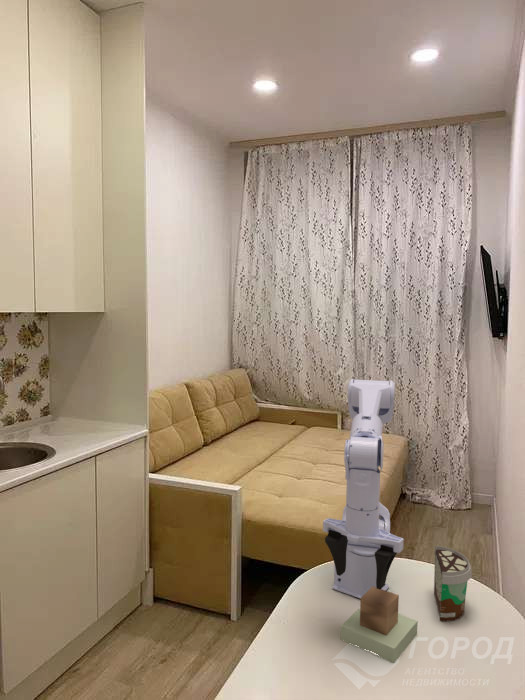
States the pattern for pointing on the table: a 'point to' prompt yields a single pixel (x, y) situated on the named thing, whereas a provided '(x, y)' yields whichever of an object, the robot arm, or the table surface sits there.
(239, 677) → the table surface
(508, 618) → the table surface
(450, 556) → the food container
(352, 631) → the sage base block
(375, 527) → the robot arm
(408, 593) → the table surface
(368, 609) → the walnut cube
